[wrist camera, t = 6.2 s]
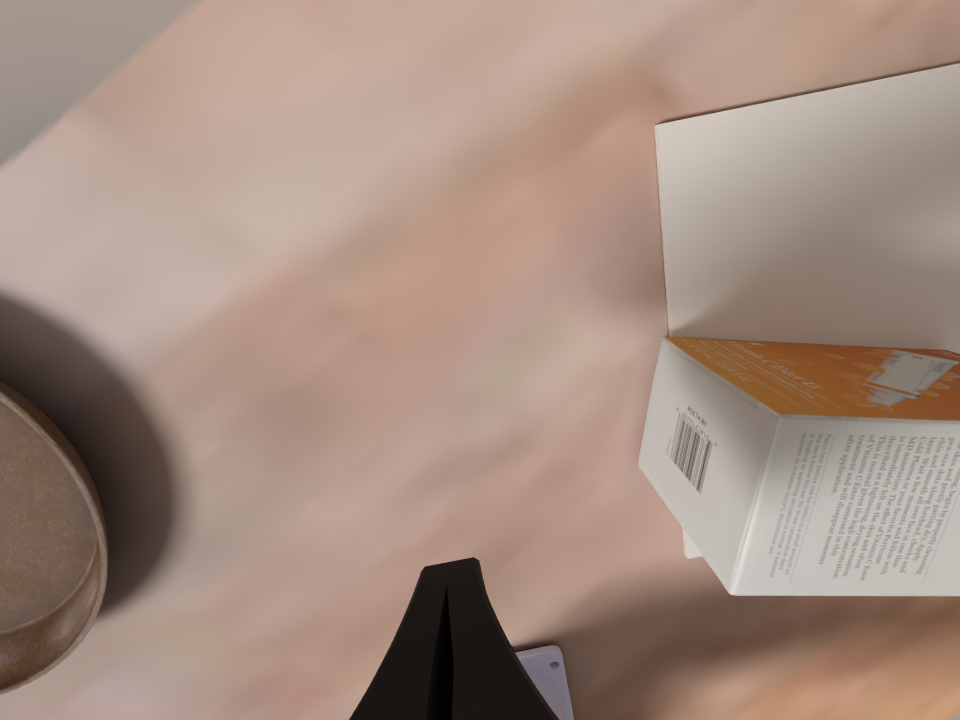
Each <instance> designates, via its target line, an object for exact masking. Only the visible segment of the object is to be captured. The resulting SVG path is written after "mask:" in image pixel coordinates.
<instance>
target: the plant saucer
mask: <svg viewBox="0 0 960 720" xmlns="http://www.w3.org/2000/svg"><path fill="white" fill-rule="evenodd" d="M107 575H108V538H107V529H106V523H105V517H104V514H103V509H102V506H101V502H100V499H99V496H98V493H97V489H96V487H95V484H94V482H93V480H92V477H91V475H90V473H89V471H88V469H87V467H86V466H85V464H84V462H83V460H82V458H81V457H80V455H79V454H78V452H77V451H76V449H75V448H74V446H73V445H72V444H71V443H70V441H69V440H68V439H67V437H66V436H65V435H64V434H63V432H62V431H61V430H60V429H59V428H58V427H57V426H56V425H55V424H54V422H53V421H52V420H51V419H50V418H49V417H48V416H47V415H46V414H45V413H43V412H42V411H41V410H40V409H39V408H38V407H37V406H35V405H34V404H33V403H32V402H30V401H29V400H28V399H27V398H26V397H24V396H23V395H21V394H20V393H18V392H17V391H15V390H14V389H13V388H11V387H10V386H8V385H7V384H5V383H4V382H2V381H0V695H2V694H5V693H8V692H10V691H13V690H15V689H18V688H20V687H22V686H24V685H26V684H29V683H31V682H32V681H34V680H36V679H38V678H39V677H41V676H43V675H44V674H46V673H47V672H49V671H50V670H52V669H53V668H54V667H56V666H57V665H58V664H60V663H61V662H62V661H63V660H64V659H65V658H66V657H68V656H69V654H70V653H71V652H72V651H73V650H74V649H75V648H76V647H77V646H78V645H79V644H80V643H81V642H82V640H83V639H84V637H85V636H86V635H87V633H88V632H89V630H90V628H91V626H92V625H93V623H94V621H95V619H96V617H97V615H98V613H99V610H100V607H101V604H102V601H103V597H104V594H105V590H106V584H107Z"/></svg>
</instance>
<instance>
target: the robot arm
mask: <svg viewBox="0 0 960 720" xmlns="http://www.w3.org/2000/svg"><path fill="white" fill-rule="evenodd" d="M349 720H574V716H573V711H572V705H571V700H570V694H569V689H568V683H567V678H566V672H565V667H564V661H563V656H562V652H561V649H560V648H559V647H558V646H555V645H550V646H545V647H540V648H535V649H530V650H525V651H520V652H514V650H513V648H512V646H511V644H510V643H509V641H508V639H507V637H506V635H505V633H504V631H503V629H502V627H501V625H500V623H499V621H498V619H497V617H496V614H495V612H494V610H493V608H492V606H491V603H490V601H489V598H488V596H487V593H486V589H485V585H484V580H483V576H482V571H481V567H480V563H479V560H477V559H476V558H474V557H473V558H468V559H462V560H457V561H452V562H447V563H442V564H436V565H431V566H426V567H424V568H423V570H422V571H421V574H420V577H419V580H418V582H417V585H416V588H415V590H414V593H413V596H412V598H411V601H410V603H409V606H408V608H407V610H406V613H405V615H404V617H403V620H402V622H401V624H400V626H399V628H398V631H397V633H396V635H395V637H394V639H393V641H392V644H391V646H390V648H389V650H388V652H387V653H386V655H385V657H384V659H383V661H382V663H381V665H380V667H379V669H378V671H377V673H376V675H375V677H374V678H373V680H372V682H371V684H370V686H369V687H368V689H367V691H366V693H365V694H364V696H363V698H362V699H361V701H360V703H359V704H358V706H357V708H356V709H355V711H354V712H353V714H352V716H351V717H350V719H349Z"/></svg>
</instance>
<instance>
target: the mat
mask: <svg viewBox="0 0 960 720" xmlns="http://www.w3.org/2000/svg"><path fill="white" fill-rule="evenodd" d="M655 140H656V155H657V169H658V184H659V198H660V212H661V227H662V241H663V256H664V270H665V285H666V299H667V314H668V328H669V336H670V337H693V338H713V339H731V340H745V341H765V342H787V343H810V344H829V345H848V346H867V347H887V348H908V349H935V350H948V351H952V352H955V353H958V354H960V63H958V64H953V65H948V66H943V67H939V68H934V69H929V70H924V71H919V72H914V73H909V74H904V75H899V76H894V77H889V78H884V79H879V80H874V81H870V82H865V83H860V84H855V85H850V86H845V87H840V88H835V89H830V90H825V91H820V92H815V93H810V94H805V95H801V96H796V97H791V98H786V99H781V100H776V101H771V102H766V103H761V104H756V105H751V106H746V107H741V108H737V109H732V110H727V111H722V112H717V113H712V114H707V115H702V116H697V117H692V118H687V119H682V120H677V121H672V122H668V123H663V124H658V125H655ZM682 530H683V545H684V554H685V556H686V557H687V559H690V558H695V557H700V556H703V555H702V554H701V553H700V551H699V550H698V548H697V547H696V546H695V544H694V543H693V541H692V540H691V538H690V537H689V536H688V534H687V533H686V531H685V530H684V528H683V527H682Z"/></svg>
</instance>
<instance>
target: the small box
mask: <svg viewBox="0 0 960 720" xmlns="http://www.w3.org/2000/svg"><path fill="white" fill-rule="evenodd" d="M638 465H639V467H640V469H641V470H642V471H643V473H644V474H645V475H646V477H647V478H648V480H649V481H650V482H651V484H652V485H653V487H654V488H655V489H656V491H657V492H658V494H659V495H660V496H661V498H662V499H663V501H664V502H665V503H666V505H667V506H668V508H669V509H670V511H671V512H672V513H673V515H674V516H675V517H676V519H677V520H678V521H679V523H680V524H681V526H682V527H683V528H684V530H685V531H686V533H687V534H688V536H689V537H690V538H691V540H692V541H693V543H694V544H695V546H696V547H697V548H698V550H699V551H700V553H701V554H702V555H703V557H704V558H705V560H706V561H707V563H708V564H709V565H710V567H711V568H712V570H713V571H714V572H715V574H716V575H717V577H718V578H719V579H720V581H721V582H722V584H723V585H724V587H725V588H726V590H727V591H728V593H729V594H731V595H736V596H960V354H958V353H955V352H952V351H948V350H935V349H908V348H887V347H867V346H848V345H829V344H810V343H787V342H765V341H745V340H731V339H713V338H693V337H670V336H665V337H663V339H662V341H661V346H660V351H659V356H658V361H657V366H656V371H655V375H654V380H653V384H652V389H651V395H650V401H649V406H648V411H647V417H646V422H645V427H644V433H643V439H642V444H641V450H640V456H639V463H638Z"/></svg>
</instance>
